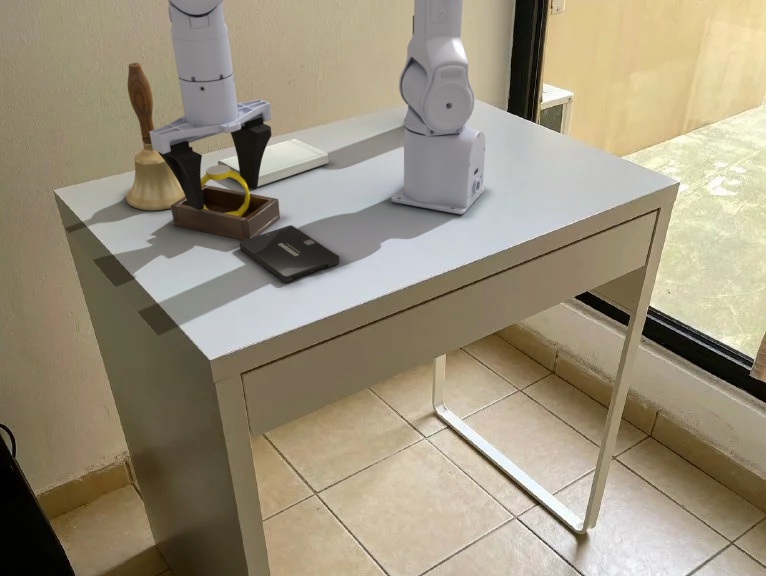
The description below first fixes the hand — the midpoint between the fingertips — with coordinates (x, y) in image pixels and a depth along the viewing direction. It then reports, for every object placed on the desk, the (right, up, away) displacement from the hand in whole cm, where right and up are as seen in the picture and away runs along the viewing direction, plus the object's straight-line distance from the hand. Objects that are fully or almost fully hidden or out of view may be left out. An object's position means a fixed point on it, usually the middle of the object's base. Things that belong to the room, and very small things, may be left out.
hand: (223, 196), depth 90 cm
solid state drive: (+8, -8, -5) cm, 12 cm away
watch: (0, -2, +2) cm, 3 cm away
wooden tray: (0, -2, +2) cm, 3 cm away
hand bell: (-10, +2, +8) cm, 13 cm away
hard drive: (+4, +8, +15) cm, 17 cm away
